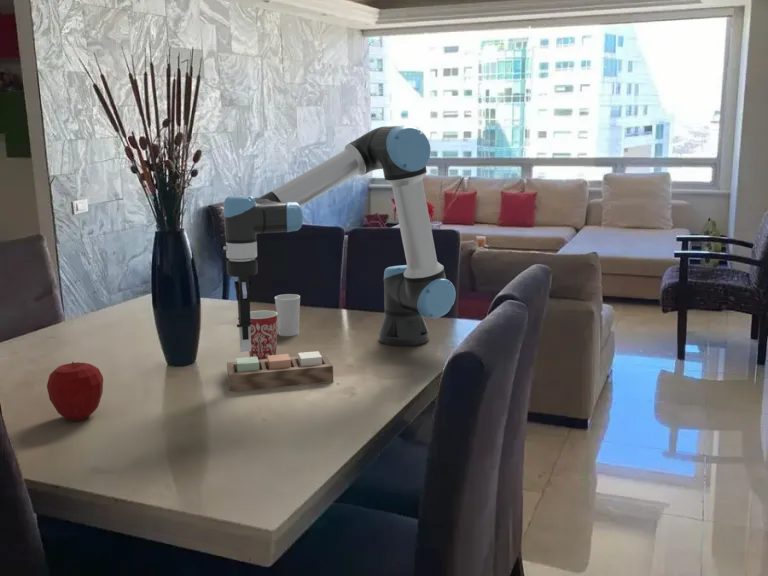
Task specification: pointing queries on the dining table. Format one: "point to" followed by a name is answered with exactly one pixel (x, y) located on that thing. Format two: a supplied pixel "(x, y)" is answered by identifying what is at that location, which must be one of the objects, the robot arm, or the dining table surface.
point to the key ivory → (309, 358)
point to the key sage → (247, 364)
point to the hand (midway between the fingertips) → (245, 350)
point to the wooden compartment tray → (279, 375)
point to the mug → (263, 334)
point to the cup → (288, 314)
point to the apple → (75, 390)
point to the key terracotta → (279, 361)
